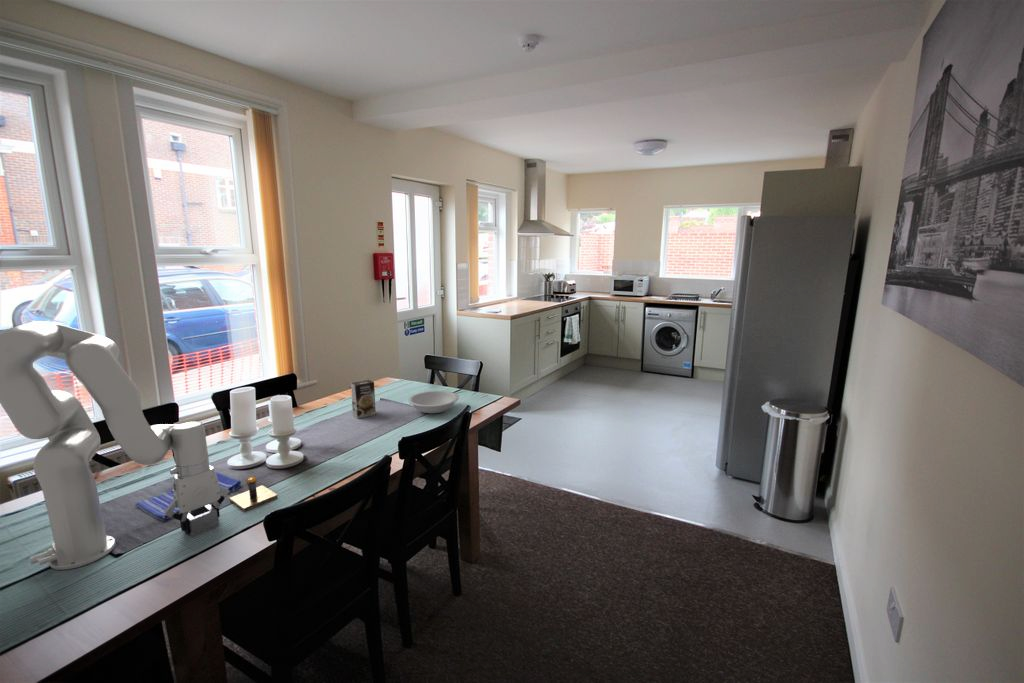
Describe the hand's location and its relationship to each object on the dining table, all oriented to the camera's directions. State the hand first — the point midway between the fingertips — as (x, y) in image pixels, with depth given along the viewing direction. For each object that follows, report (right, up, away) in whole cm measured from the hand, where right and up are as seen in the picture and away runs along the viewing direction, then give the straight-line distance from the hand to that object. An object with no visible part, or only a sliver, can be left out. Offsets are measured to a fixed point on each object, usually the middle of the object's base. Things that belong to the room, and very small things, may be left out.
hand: (201, 525), depth 131 cm
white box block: (0, -1, 0) cm, 1 cm away
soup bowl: (+50, +18, +95) cm, 109 cm away
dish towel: (-14, +2, +17) cm, 23 cm away
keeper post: (+7, +2, +15) cm, 16 cm away
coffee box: (+18, +17, +89) cm, 93 cm away
